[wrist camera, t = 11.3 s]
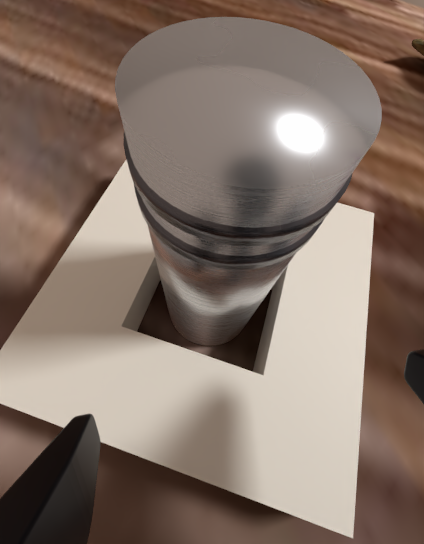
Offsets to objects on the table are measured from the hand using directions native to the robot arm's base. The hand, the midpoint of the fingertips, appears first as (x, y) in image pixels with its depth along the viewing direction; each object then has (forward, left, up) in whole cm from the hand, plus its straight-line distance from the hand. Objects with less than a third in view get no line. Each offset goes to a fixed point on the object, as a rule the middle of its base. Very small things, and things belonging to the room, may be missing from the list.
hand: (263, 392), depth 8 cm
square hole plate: (+5, +3, -8) cm, 10 cm away
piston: (+5, +3, -8) cm, 10 cm away
